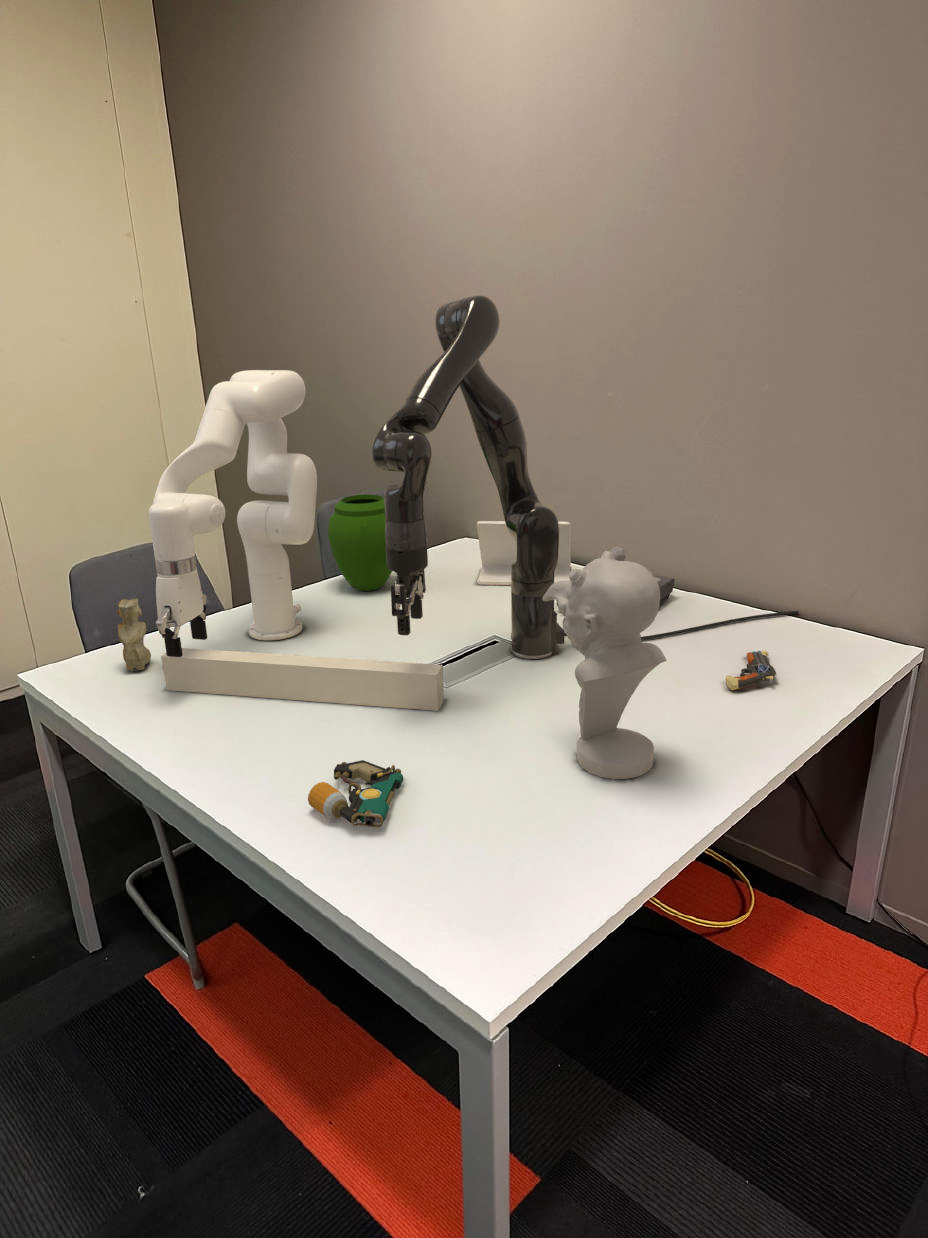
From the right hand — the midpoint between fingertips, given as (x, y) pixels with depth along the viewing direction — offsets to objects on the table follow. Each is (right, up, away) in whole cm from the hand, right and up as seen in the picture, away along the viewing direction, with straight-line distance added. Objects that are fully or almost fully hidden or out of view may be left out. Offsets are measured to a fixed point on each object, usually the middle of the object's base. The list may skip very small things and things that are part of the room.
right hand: (410, 626), depth 160 cm
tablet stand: (+27, +13, +79) cm, 85 cm away
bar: (-22, -14, +11) cm, 28 cm away
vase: (-16, +10, +73) cm, 76 cm away
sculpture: (-61, -9, +26) cm, 67 cm away
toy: (+48, +5, +55) cm, 73 cm away
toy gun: (+68, -10, +14) cm, 70 cm away
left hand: (-46, -4, +12) cm, 47 cm away
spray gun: (-6, -27, -26) cm, 38 cm away
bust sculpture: (+32, -22, -14) cm, 42 cm away
